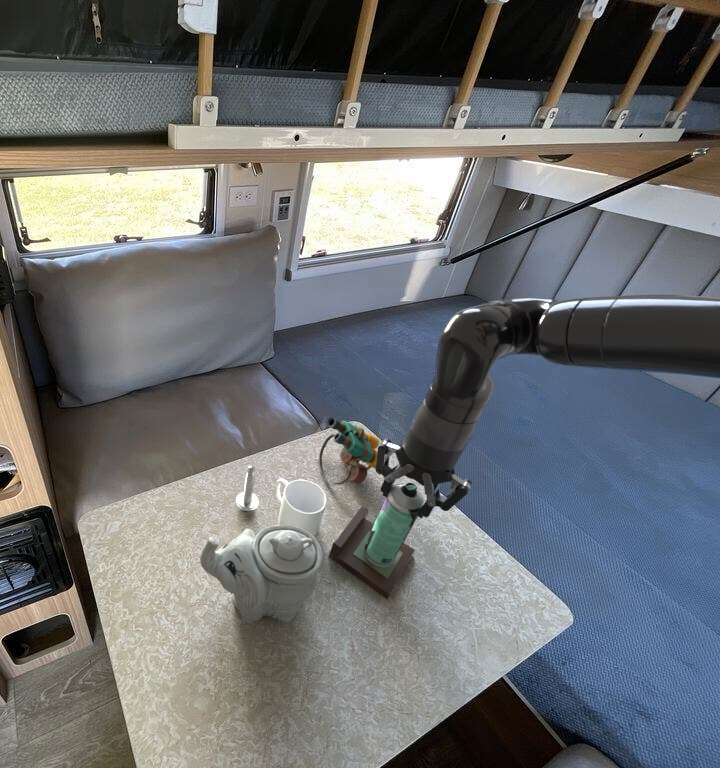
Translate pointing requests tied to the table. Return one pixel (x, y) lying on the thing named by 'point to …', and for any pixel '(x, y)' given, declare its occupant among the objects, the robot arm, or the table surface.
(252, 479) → the screw
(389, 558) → the spray can
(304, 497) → the cup
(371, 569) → the brown wooden square frame
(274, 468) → the table surface
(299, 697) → the table surface
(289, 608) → the teapot
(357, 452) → the binoculars
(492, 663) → the table surface
